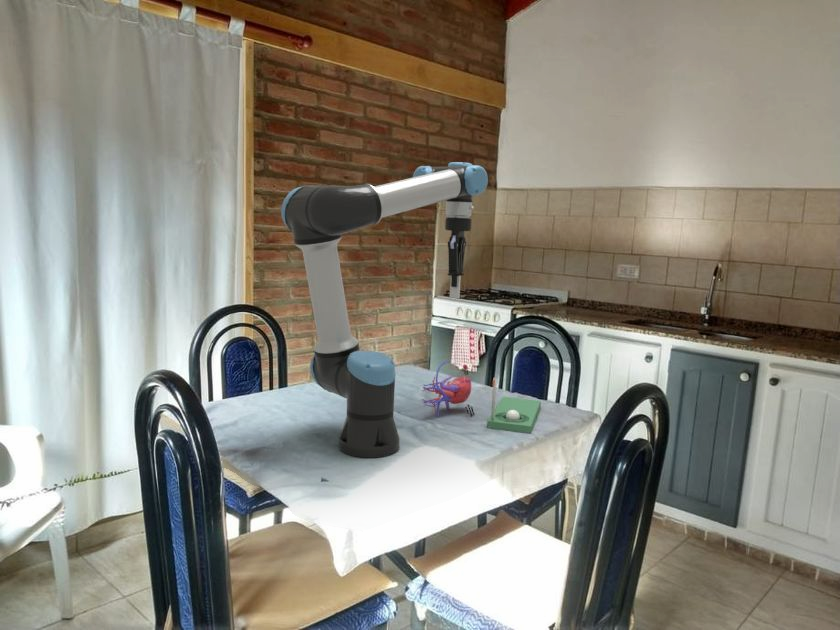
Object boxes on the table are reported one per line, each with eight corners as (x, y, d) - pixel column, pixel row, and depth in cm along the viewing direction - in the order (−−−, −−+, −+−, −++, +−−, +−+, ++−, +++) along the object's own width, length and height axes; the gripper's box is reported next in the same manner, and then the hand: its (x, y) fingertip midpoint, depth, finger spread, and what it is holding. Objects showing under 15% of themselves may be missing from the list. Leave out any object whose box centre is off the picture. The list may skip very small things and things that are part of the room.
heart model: (485, 416, 193) (441, 417, 179) (460, 417, 200) (416, 418, 185) (482, 360, 196) (439, 356, 182) (458, 362, 202) (414, 359, 188)
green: (529, 434, 175) (533, 384, 173) (486, 429, 178) (488, 379, 176) (540, 407, 201) (543, 363, 198) (502, 402, 204) (504, 359, 202)
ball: (519, 427, 183) (518, 418, 180) (504, 426, 184) (504, 416, 181) (521, 417, 185) (520, 407, 183) (507, 415, 187) (506, 406, 184)
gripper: (466, 217, 180) (461, 301, 184) (476, 217, 192) (471, 296, 196) (440, 216, 182) (436, 299, 186) (451, 216, 195) (447, 294, 198)
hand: (454, 297), depth 191 cm, fingers closed
